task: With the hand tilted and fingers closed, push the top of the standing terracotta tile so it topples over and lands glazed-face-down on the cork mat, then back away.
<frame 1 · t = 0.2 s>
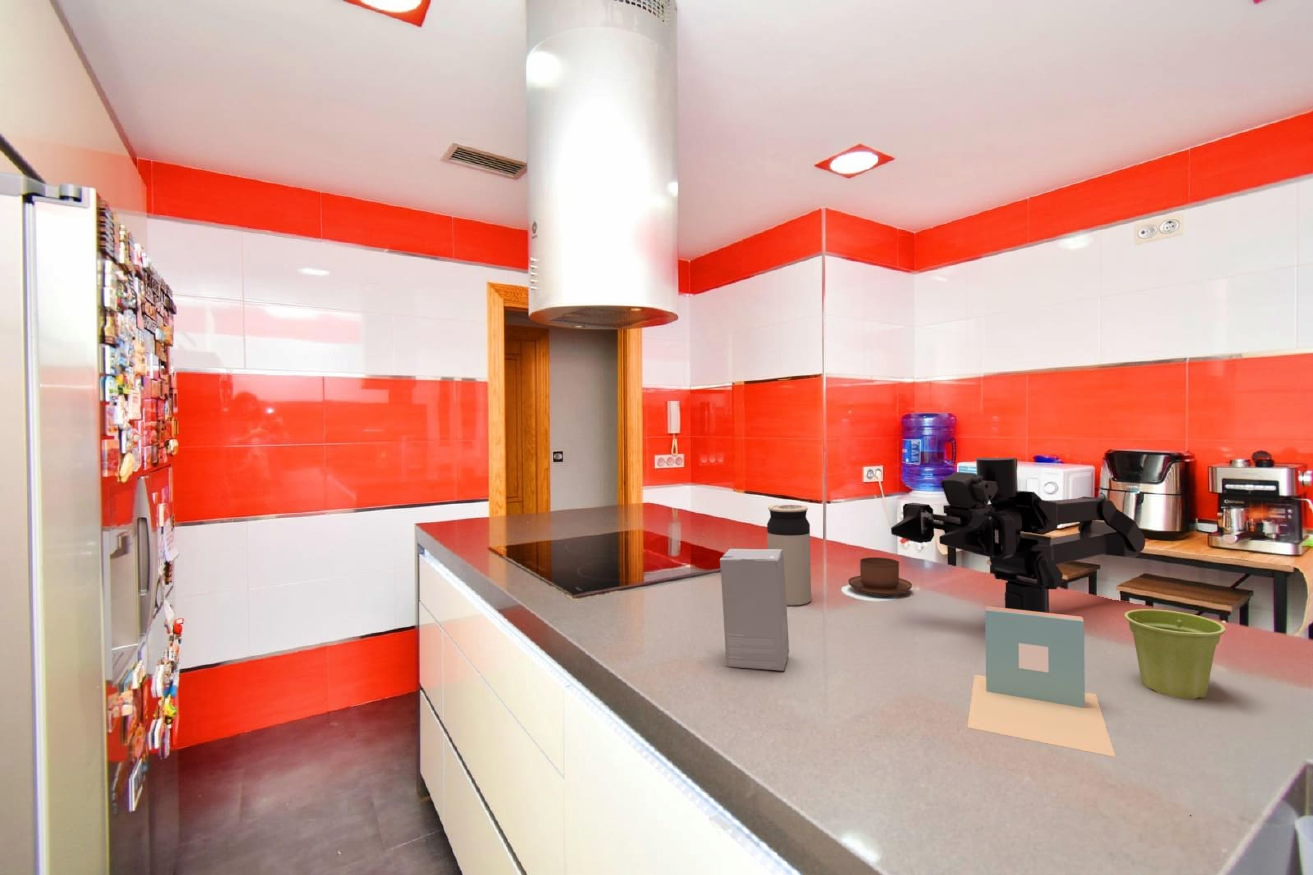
hand: (915, 535, 93), 16 cm above the worktop, tool horizontal, fingers open, 9 cm apart
travel mug: (789, 601, 118), on the worktop
plant pot: (1173, 692, 75), on the worktop
cup and saucer: (879, 592, 123), on the worktop
cork mat: (1034, 712, 70), on the worktop
skincare box: (756, 663, 87), on the worktop
tile: (1033, 696, 74), resting on cork mat
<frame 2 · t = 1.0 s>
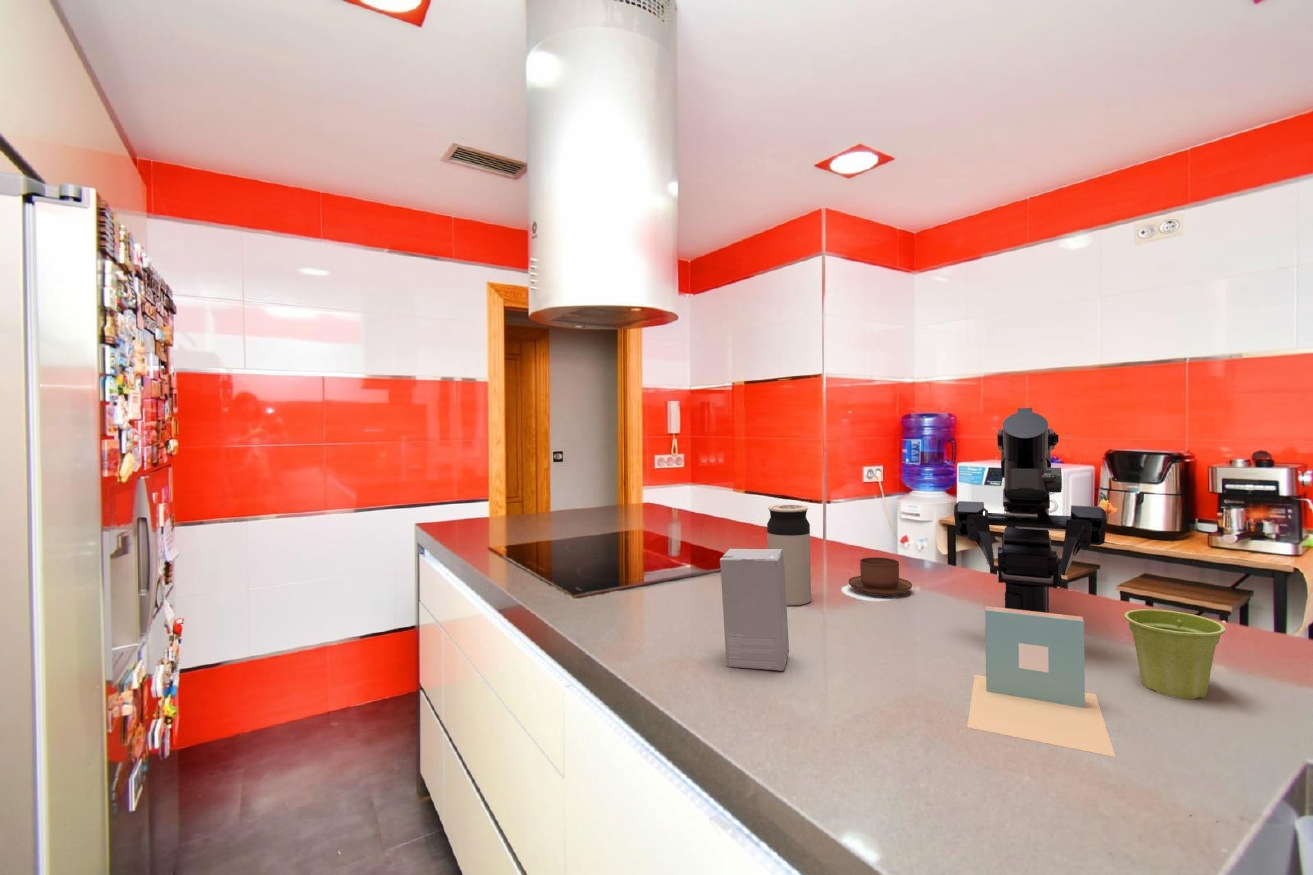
hand: (1026, 570, 85), 13 cm above the worktop, tool tilted 45°, fingers open, 8 cm apart
nothing on the worktop moved.
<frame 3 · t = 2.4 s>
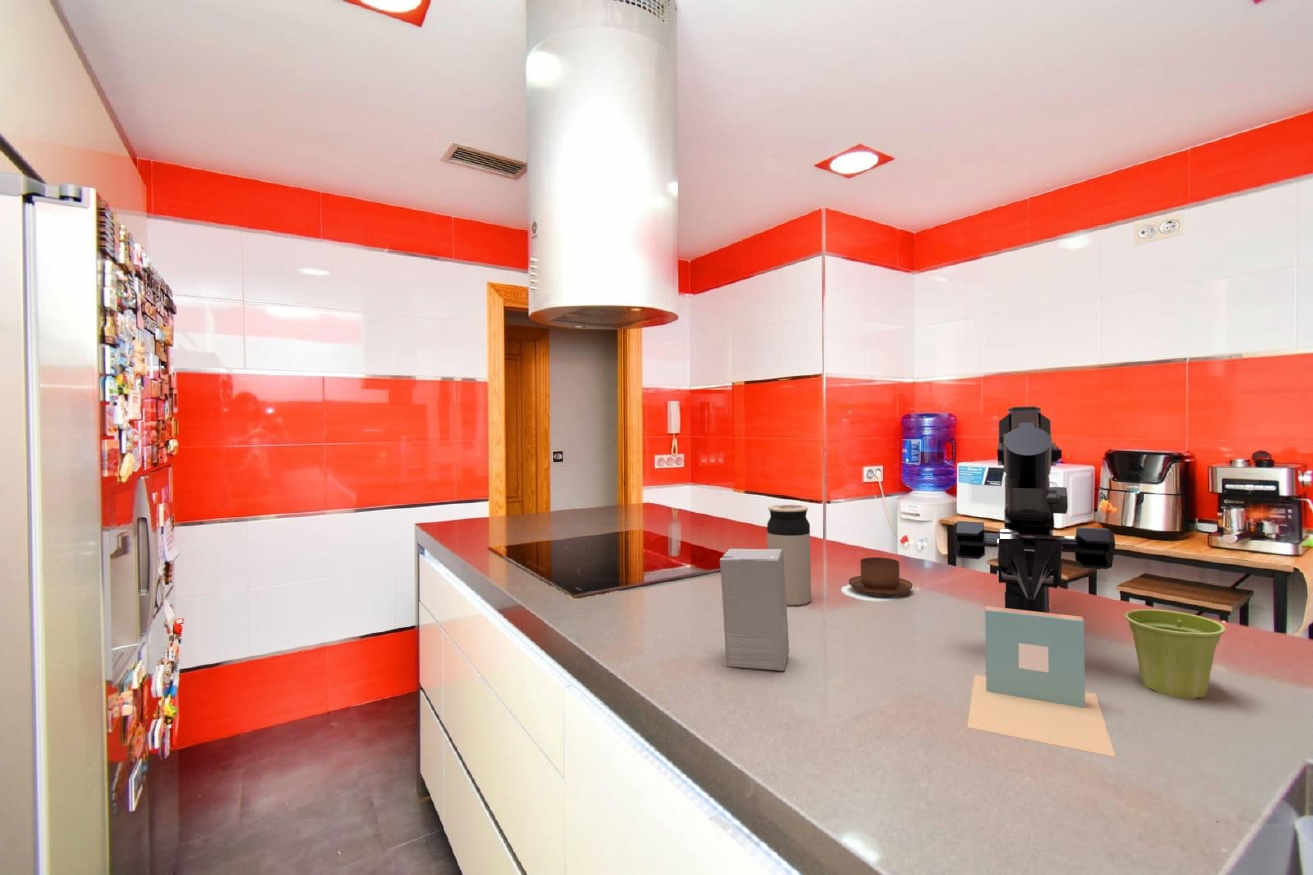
hand: (1030, 597, 80), 11 cm above the worktop, tool tilted 45°, fingers closed
nothing on the worktop moved.
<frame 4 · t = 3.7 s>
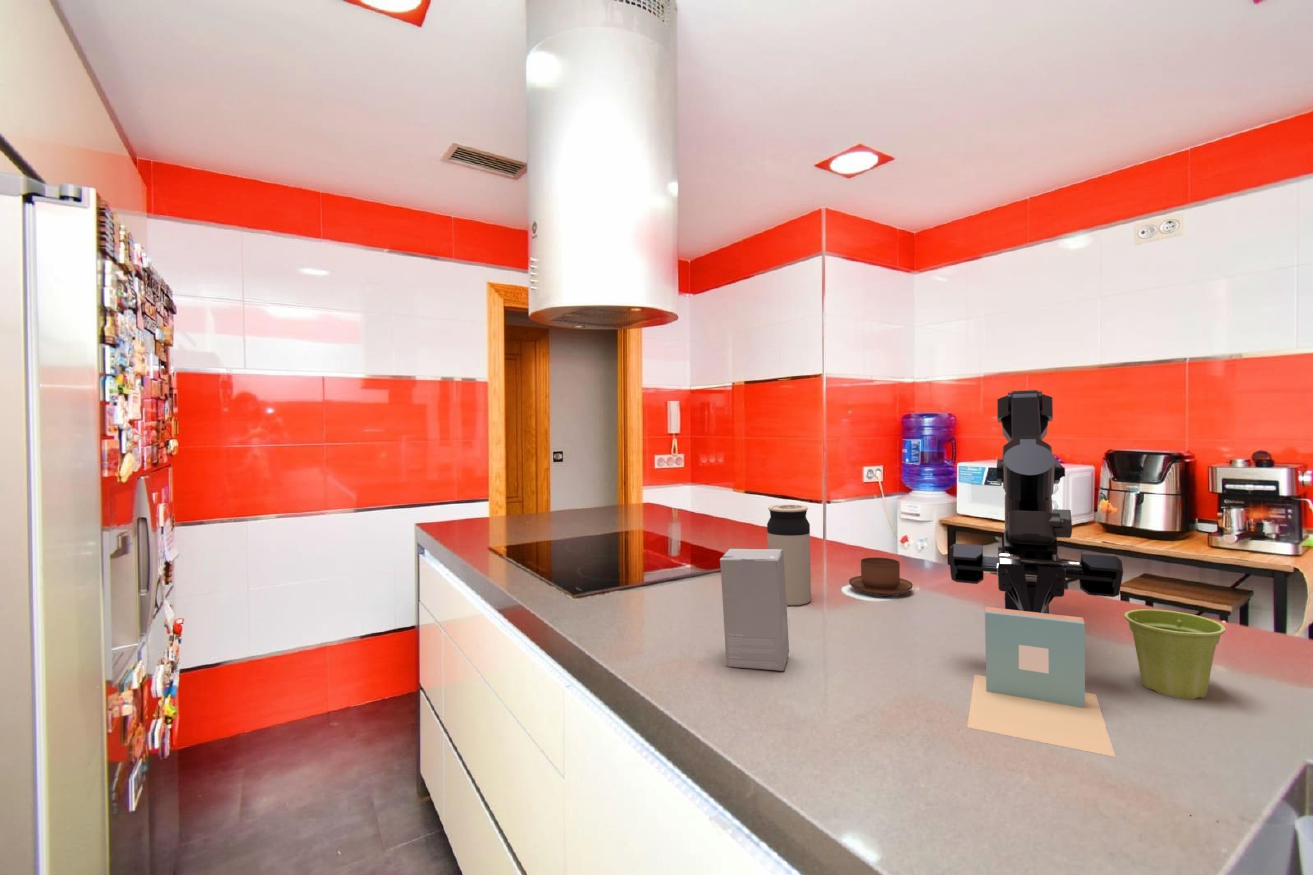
hand: (1032, 627, 74), 8 cm above the worktop, tool tilted 45°, fingers closed
nothing on the worktop moved.
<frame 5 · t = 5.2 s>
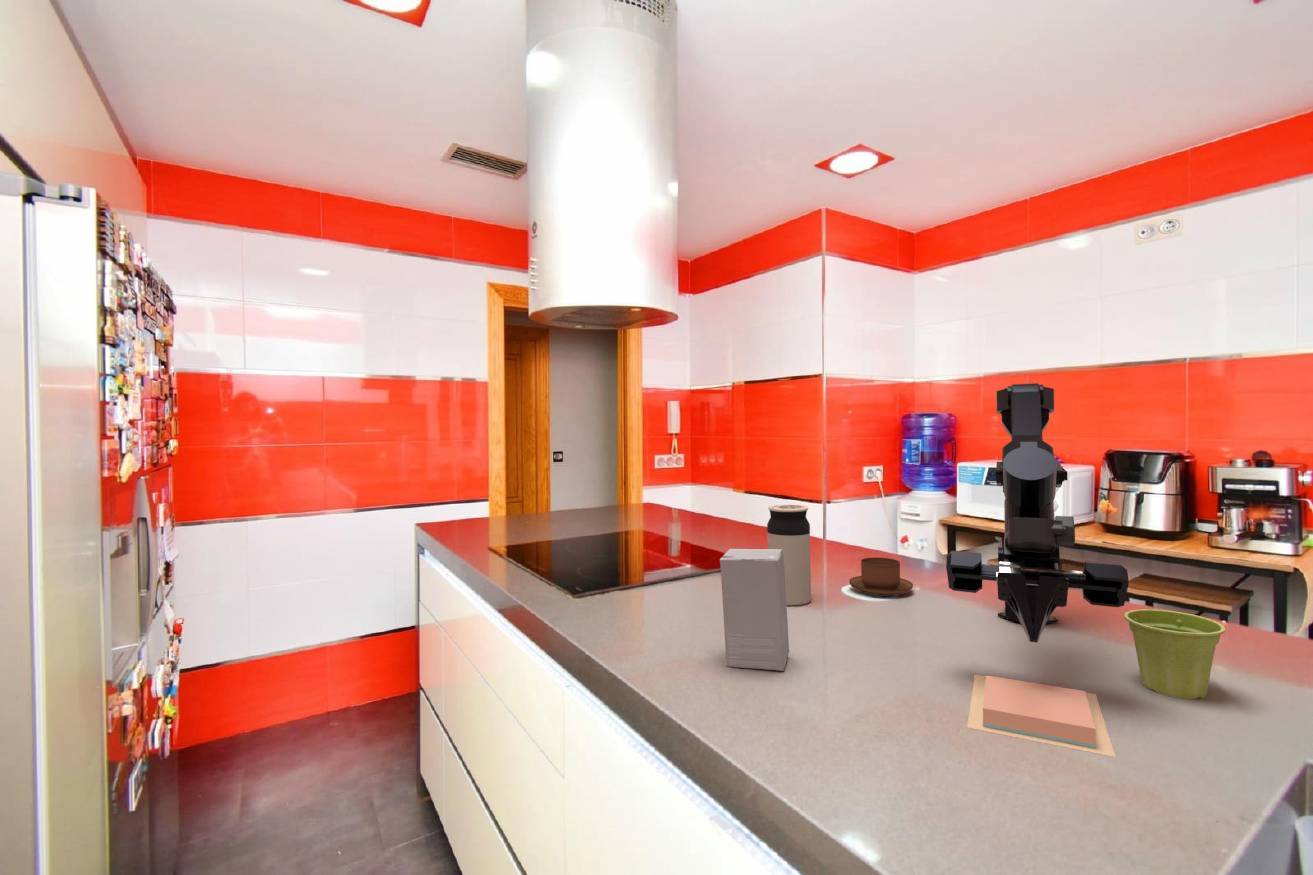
hand: (1033, 640, 71), 8 cm above the worktop, tool tilted 45°, fingers closed
tile: (1033, 691, 73), point 1 cm above the worktop, tilted 90°, touching cork mat
everything else where it was.
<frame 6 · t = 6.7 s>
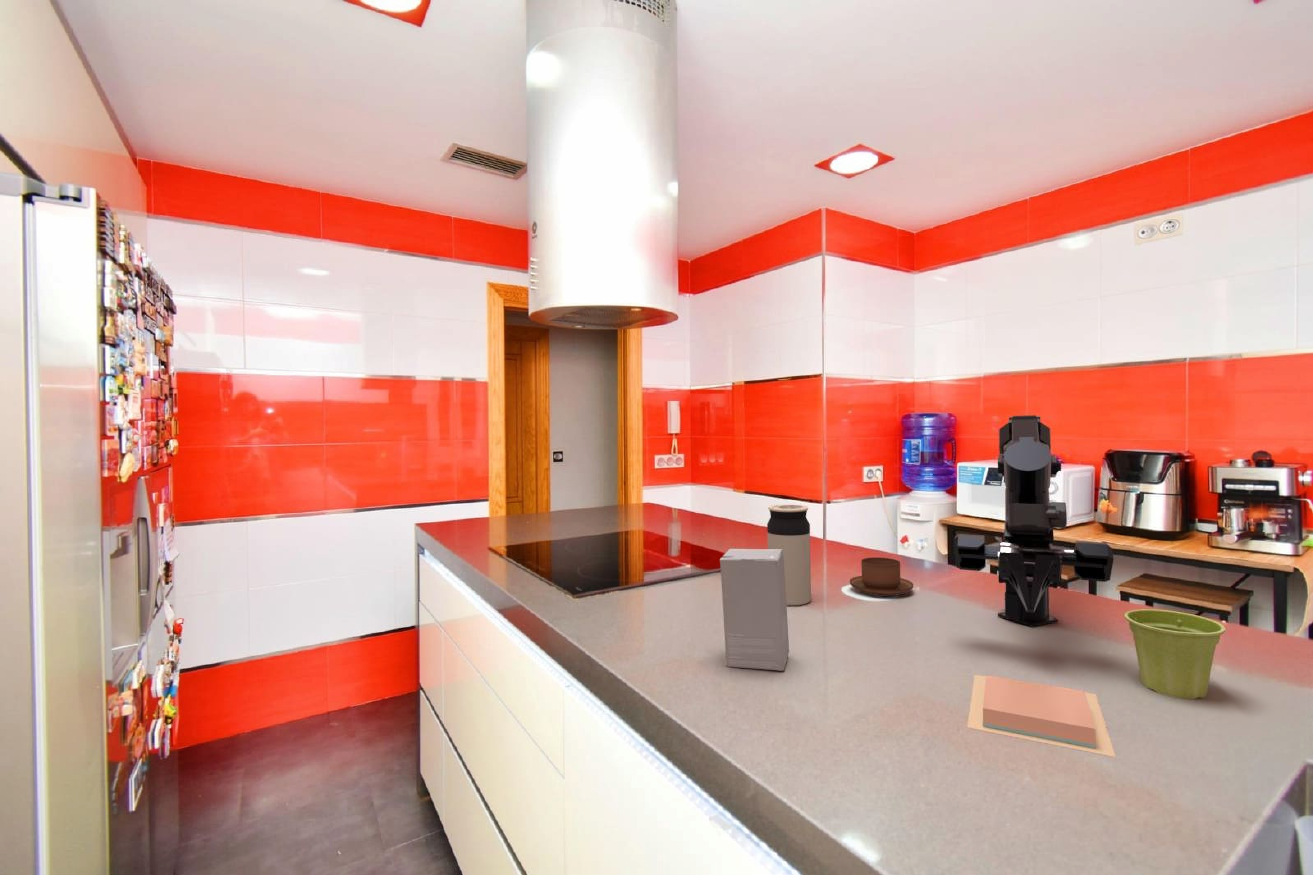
hand: (1030, 610, 81), 8 cm above the worktop, tool tilted 45°, fingers closed
nothing on the worktop moved.
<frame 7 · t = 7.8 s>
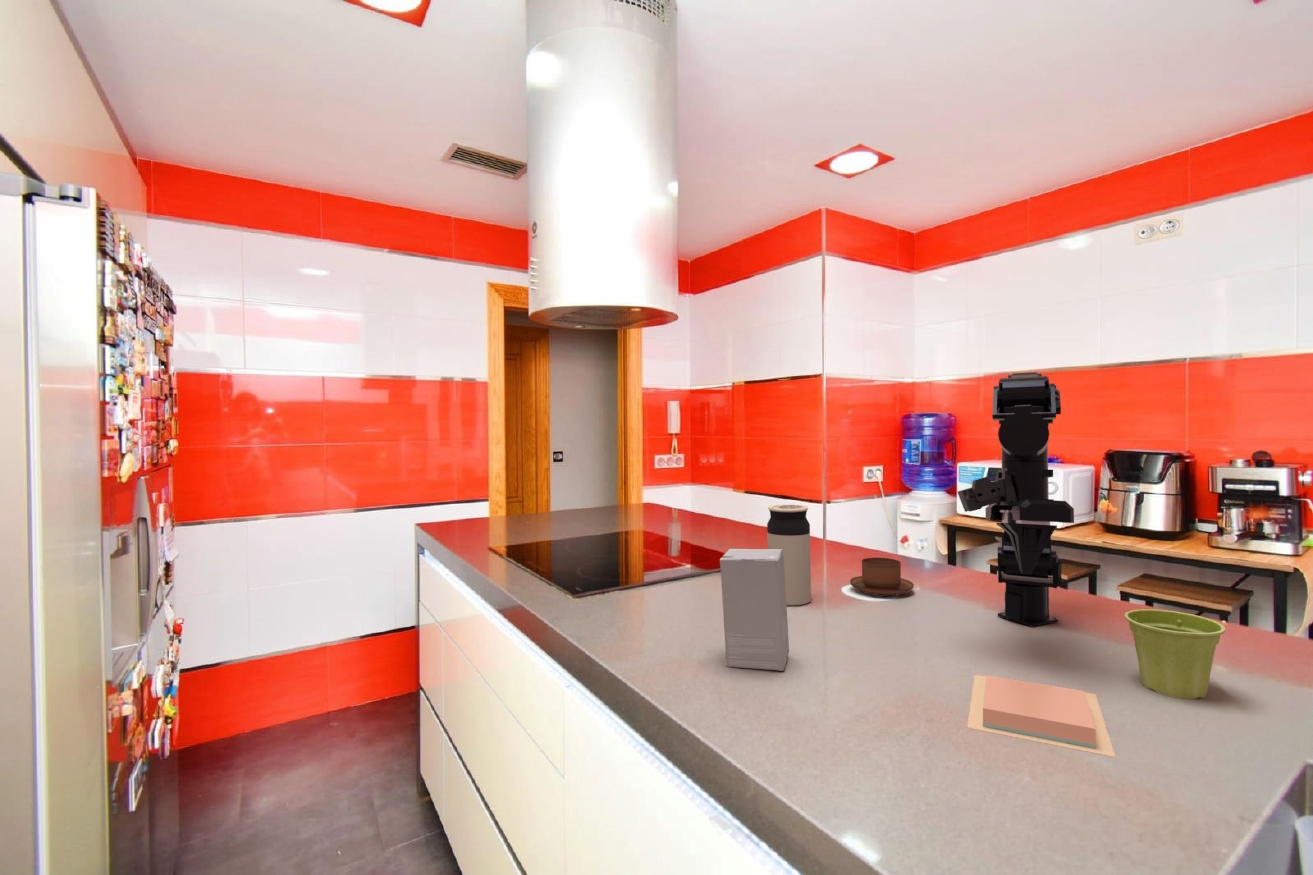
hand: (1025, 573, 86), 12 cm above the worktop, tool pointing down, fingers closed
nothing on the worktop moved.
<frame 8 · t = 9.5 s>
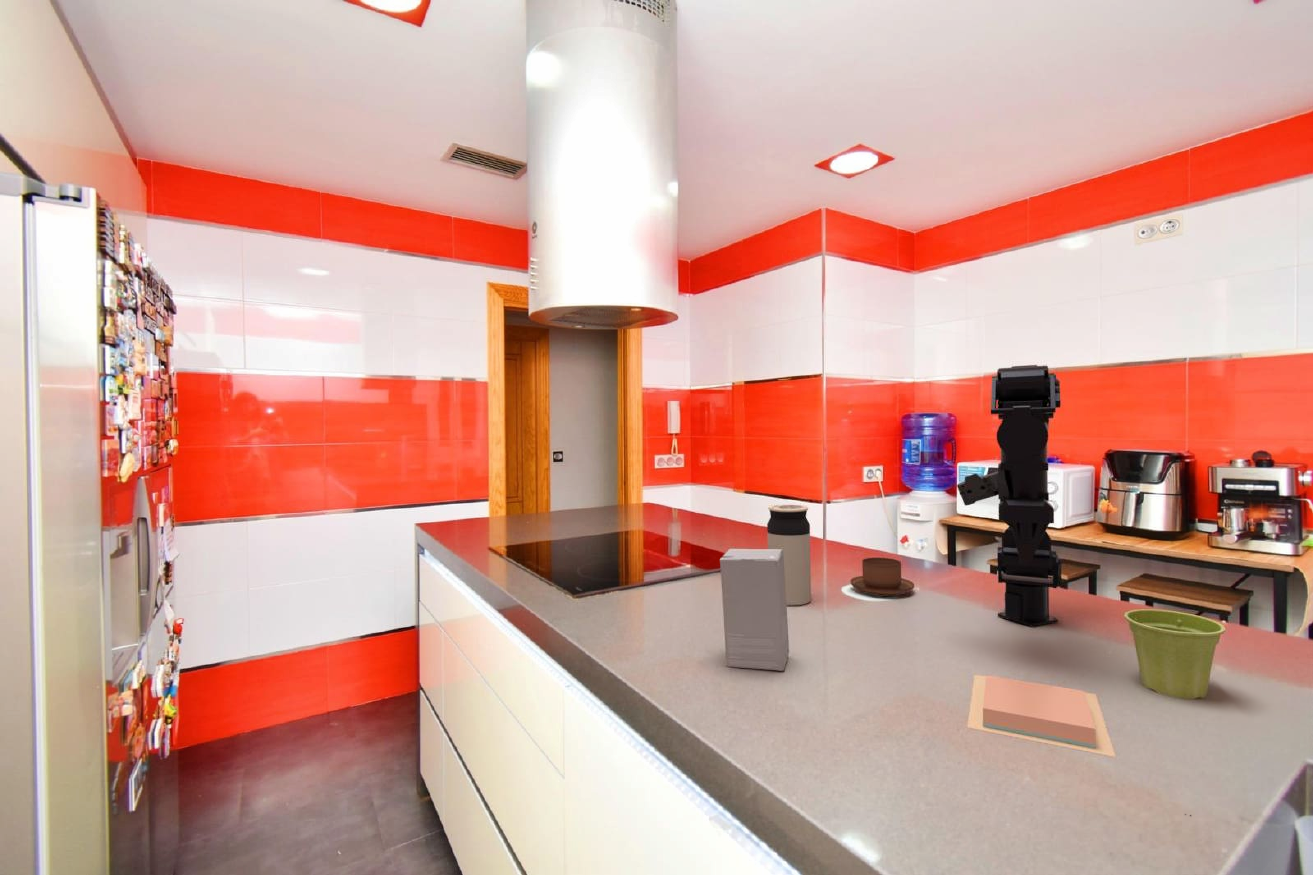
hand: (1025, 564, 88), 13 cm above the worktop, tool pointing down, fingers closed
nothing on the worktop moved.
at the end: tile tilted 90°; tile 2.9 cm from the cork mat (horizontally); tile point 1.3 cm above the worktop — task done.
